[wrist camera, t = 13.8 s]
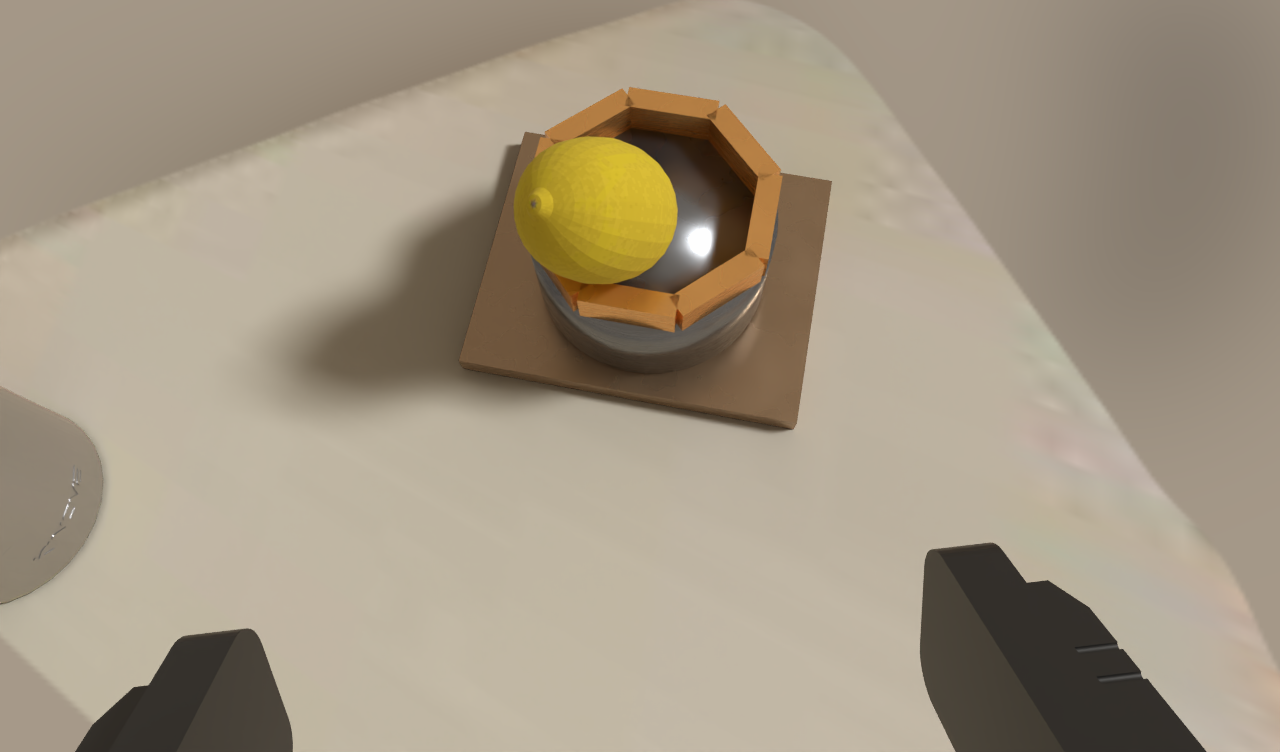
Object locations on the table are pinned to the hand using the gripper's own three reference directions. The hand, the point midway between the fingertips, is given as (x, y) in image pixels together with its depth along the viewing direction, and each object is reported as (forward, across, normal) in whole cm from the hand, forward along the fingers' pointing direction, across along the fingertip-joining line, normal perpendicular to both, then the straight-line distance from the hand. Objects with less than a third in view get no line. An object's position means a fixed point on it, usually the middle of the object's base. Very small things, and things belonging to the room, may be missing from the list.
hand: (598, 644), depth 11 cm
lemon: (+28, -3, +2) cm, 28 cm away
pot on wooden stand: (+33, -3, +7) cm, 34 cm away
